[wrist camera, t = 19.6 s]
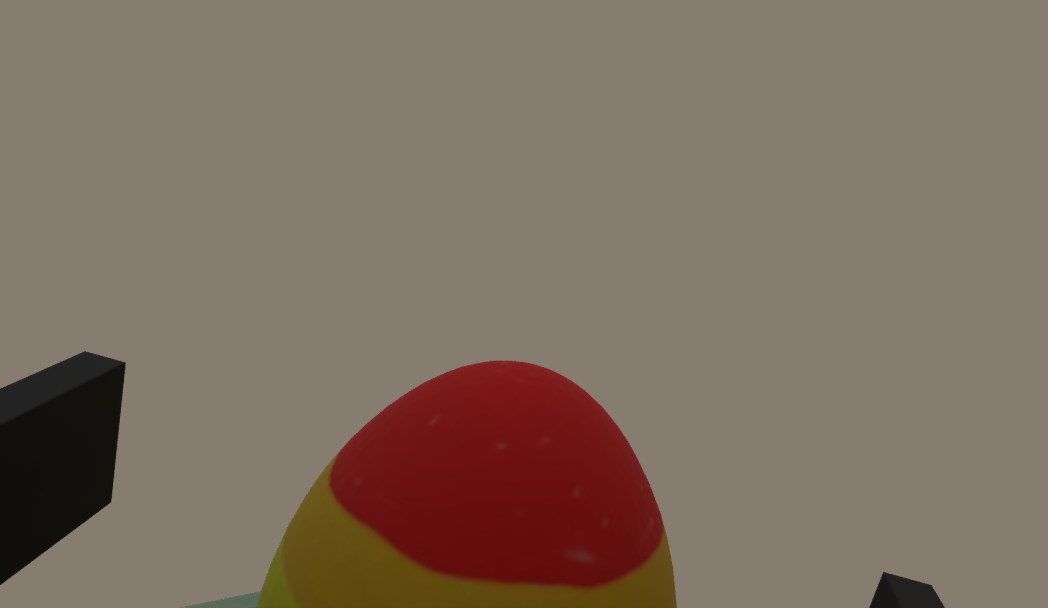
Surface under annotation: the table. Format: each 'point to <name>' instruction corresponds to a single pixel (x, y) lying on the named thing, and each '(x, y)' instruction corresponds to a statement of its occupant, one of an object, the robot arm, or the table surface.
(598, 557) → the decorative egg
